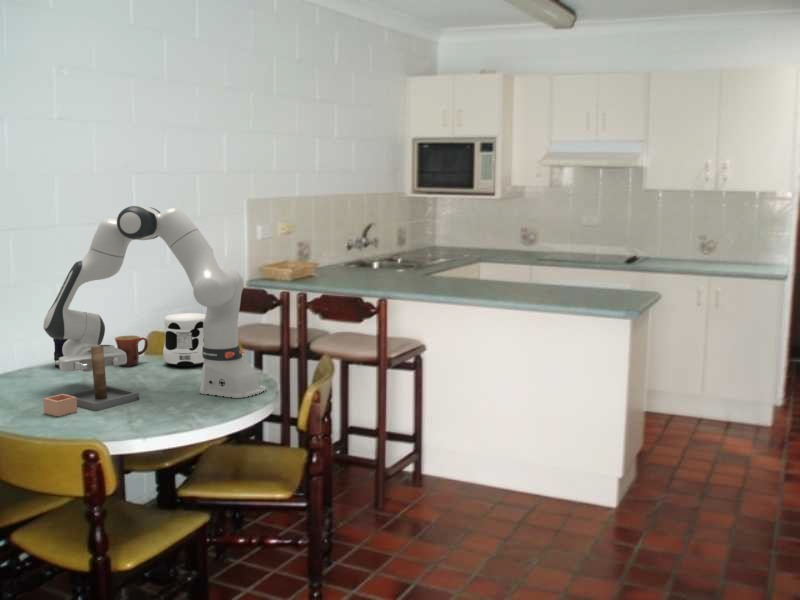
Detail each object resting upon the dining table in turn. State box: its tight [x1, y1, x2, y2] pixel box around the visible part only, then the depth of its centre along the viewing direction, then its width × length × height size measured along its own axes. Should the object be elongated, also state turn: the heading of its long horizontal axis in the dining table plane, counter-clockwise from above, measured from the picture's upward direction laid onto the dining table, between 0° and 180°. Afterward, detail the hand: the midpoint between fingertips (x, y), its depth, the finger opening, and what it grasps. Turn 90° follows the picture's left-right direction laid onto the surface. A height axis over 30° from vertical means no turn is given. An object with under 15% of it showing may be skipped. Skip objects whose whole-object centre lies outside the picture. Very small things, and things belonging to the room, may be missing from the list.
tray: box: [66, 384, 140, 412], centre depth 266 cm, size 16×16×2 cm
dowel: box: [91, 346, 107, 399], centre depth 265 cm, size 4×4×16 cm
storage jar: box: [52, 338, 68, 369], centre depth 312 cm, size 10×10×15 cm
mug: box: [114, 335, 149, 367], centre depth 316 cm, size 12×9×10 cm
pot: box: [42, 393, 78, 418], centre depth 253 cm, size 7×7×4 cm
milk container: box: [162, 312, 206, 367], centre depth 316 cm, size 17×17×18 cm
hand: (100, 365), depth 264 cm, fingers open, 8 cm apart
